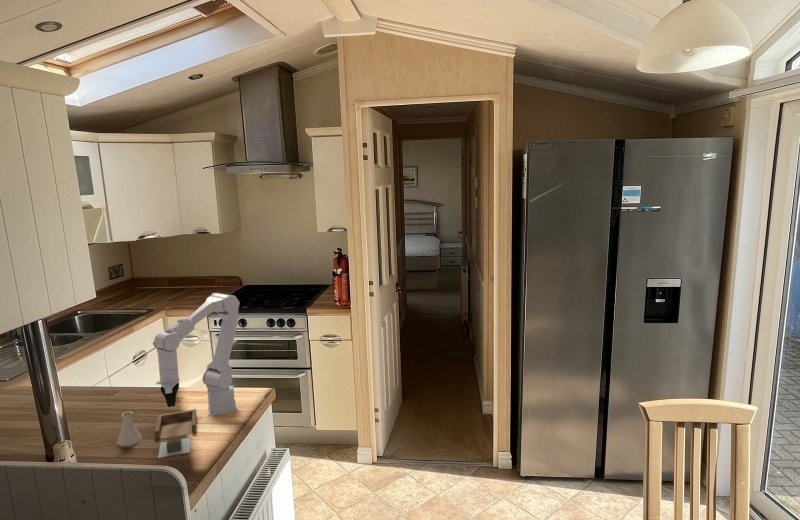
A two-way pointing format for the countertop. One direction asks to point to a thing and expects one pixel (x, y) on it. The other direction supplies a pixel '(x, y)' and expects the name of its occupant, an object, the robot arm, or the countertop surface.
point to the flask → (128, 431)
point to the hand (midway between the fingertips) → (171, 405)
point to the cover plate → (183, 444)
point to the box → (176, 424)
